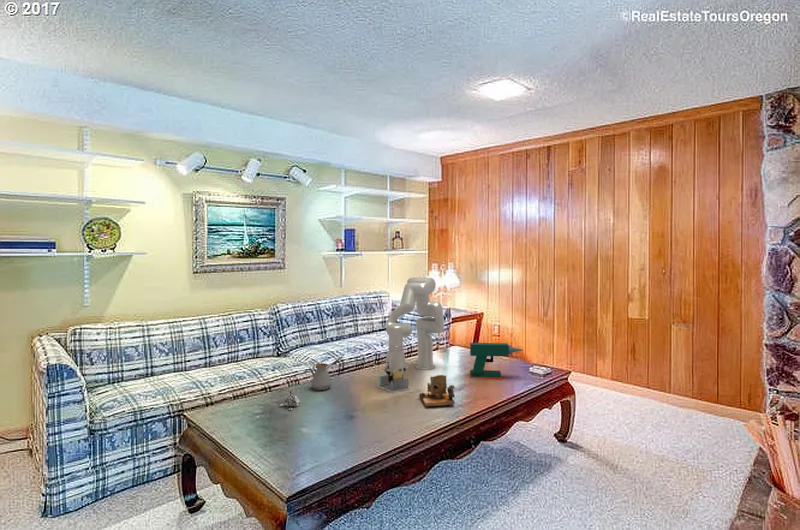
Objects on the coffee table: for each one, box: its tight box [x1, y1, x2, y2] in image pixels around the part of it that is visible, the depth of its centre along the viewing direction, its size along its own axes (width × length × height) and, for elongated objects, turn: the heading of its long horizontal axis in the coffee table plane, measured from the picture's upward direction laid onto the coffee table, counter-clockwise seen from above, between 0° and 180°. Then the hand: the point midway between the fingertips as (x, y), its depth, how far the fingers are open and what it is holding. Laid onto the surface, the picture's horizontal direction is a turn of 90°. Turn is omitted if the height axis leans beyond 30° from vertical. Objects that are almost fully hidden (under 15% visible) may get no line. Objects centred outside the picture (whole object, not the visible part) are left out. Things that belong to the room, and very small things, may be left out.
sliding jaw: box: [377, 373, 389, 385], centre depth 251 cm, size 3×10×5 cm, turn 125°
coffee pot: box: [310, 356, 345, 391], centre depth 249 cm, size 21×12×15 cm, turn 138°
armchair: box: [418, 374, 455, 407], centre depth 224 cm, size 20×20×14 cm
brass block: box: [390, 370, 404, 380], centre depth 244 cm, size 4×6×6 cm, turn 125°
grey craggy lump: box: [280, 388, 301, 410], centre depth 218 cm, size 9×9×8 cm
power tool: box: [468, 342, 524, 380], centre depth 265 cm, size 32×7×20 cm, turn 84°
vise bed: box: [376, 377, 410, 394], centre depth 246 cm, size 16×11×6 cm
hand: (395, 381), depth 244 cm, fingers closed on brass block, 6 cm apart
